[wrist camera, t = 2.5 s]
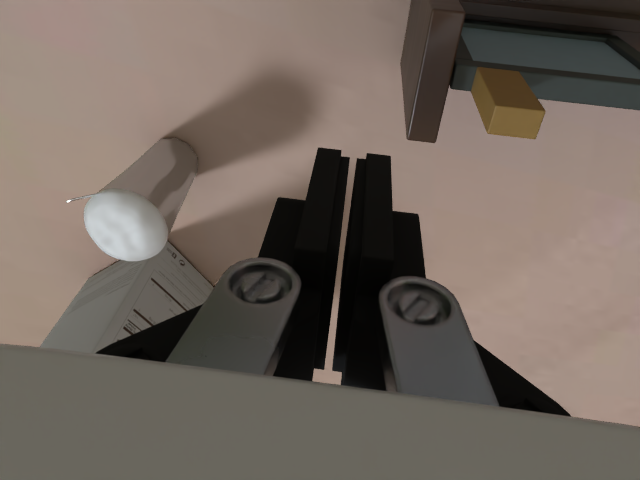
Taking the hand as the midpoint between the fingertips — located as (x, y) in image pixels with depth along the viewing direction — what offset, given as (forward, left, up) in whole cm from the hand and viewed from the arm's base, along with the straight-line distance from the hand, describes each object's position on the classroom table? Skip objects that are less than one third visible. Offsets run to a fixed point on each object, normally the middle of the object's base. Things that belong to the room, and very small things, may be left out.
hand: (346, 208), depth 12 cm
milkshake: (+10, -12, -19) cm, 25 cm away
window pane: (0, +8, -18) cm, 20 cm away
